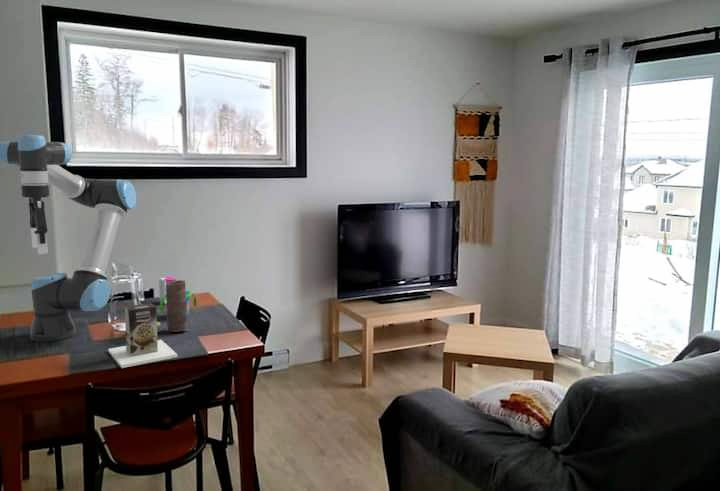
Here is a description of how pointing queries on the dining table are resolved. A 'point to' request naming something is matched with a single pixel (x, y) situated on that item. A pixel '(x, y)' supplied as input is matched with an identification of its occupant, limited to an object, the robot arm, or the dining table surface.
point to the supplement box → (164, 287)
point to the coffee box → (141, 329)
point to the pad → (127, 360)
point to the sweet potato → (176, 306)
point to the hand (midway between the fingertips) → (40, 250)
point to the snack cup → (188, 297)
